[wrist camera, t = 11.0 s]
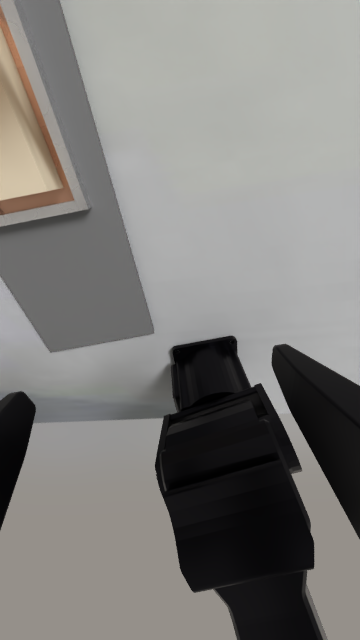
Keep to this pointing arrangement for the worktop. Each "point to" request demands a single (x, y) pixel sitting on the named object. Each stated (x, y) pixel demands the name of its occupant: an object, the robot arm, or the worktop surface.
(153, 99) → the worktop surface
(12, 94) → the block
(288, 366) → the robot arm
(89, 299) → the mat
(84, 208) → the frame
